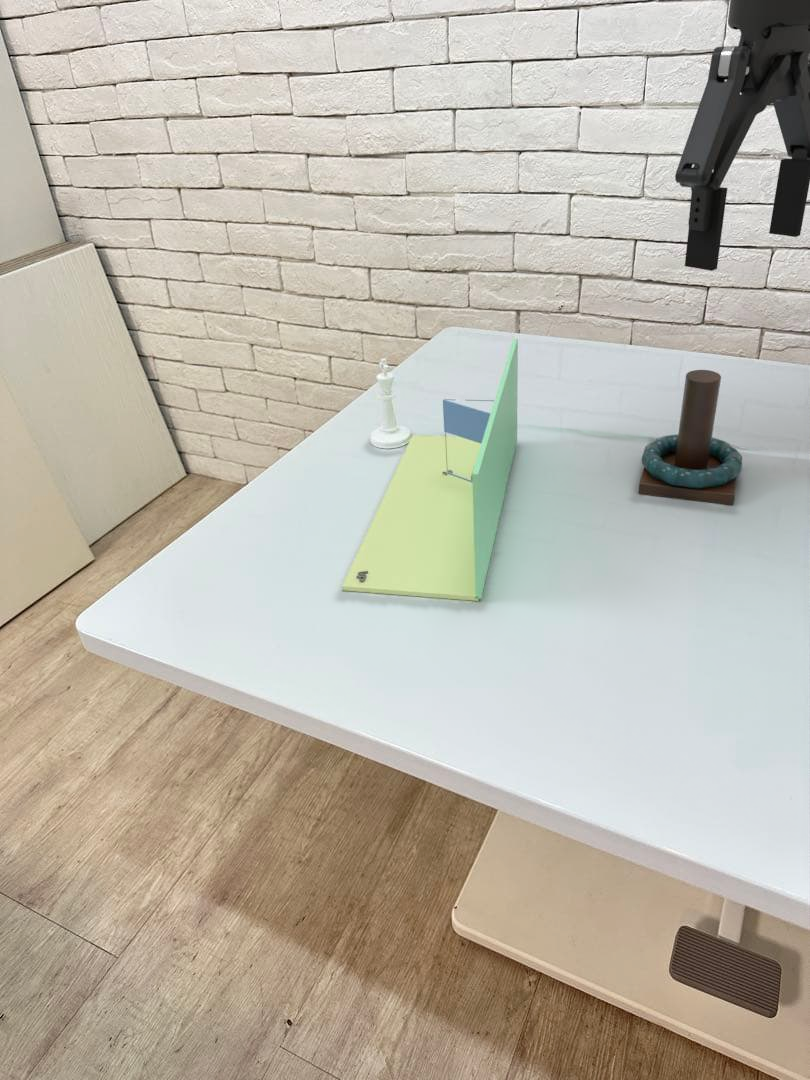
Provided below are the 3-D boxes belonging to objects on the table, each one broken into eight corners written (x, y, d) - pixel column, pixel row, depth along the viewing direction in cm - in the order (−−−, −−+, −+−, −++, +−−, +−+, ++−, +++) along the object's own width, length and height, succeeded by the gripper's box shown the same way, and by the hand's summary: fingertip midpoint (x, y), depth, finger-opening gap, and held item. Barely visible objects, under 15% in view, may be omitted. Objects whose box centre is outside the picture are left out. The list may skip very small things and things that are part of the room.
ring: (742, 451, 84) (745, 436, 83) (737, 496, 77) (740, 480, 76) (648, 442, 87) (650, 427, 86) (635, 484, 80) (637, 468, 79)
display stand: (481, 601, 68) (478, 474, 61) (342, 590, 71) (324, 467, 64) (517, 442, 92) (517, 338, 85) (412, 438, 95) (405, 337, 88)
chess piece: (400, 426, 98) (393, 348, 92) (418, 441, 94) (412, 360, 88) (363, 436, 96) (354, 357, 91) (380, 452, 92) (372, 370, 87)
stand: (737, 462, 84) (755, 361, 78) (733, 505, 78) (752, 398, 71) (650, 453, 88) (660, 355, 81) (638, 493, 81) (648, 390, 75)
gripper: (821, -37, 70) (779, 218, 82) (644, -22, 58) (624, 276, 69) (912, -47, 65) (853, 226, 76) (738, -32, 53) (700, 290, 64)
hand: (744, 250), depth 73 cm, fingers open, 13 cm apart
